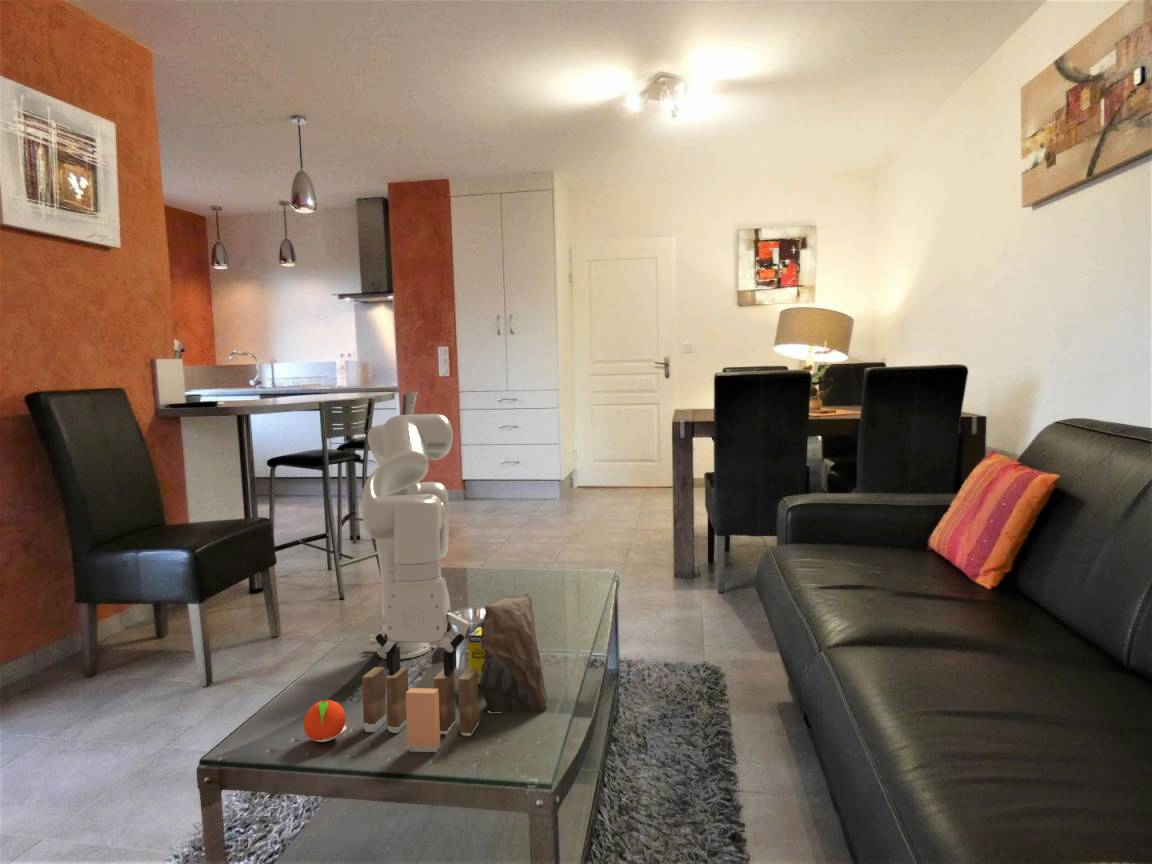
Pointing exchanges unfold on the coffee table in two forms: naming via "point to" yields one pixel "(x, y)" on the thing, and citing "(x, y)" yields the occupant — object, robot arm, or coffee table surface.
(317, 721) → the clementine
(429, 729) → the domino
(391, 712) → the domino
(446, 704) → the domino
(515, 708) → the brown rough lump
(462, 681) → the domino
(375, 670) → the domino
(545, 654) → the coffee table surface
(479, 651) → the supplement box
